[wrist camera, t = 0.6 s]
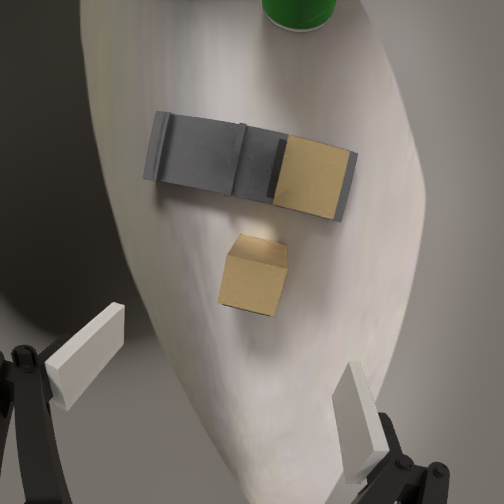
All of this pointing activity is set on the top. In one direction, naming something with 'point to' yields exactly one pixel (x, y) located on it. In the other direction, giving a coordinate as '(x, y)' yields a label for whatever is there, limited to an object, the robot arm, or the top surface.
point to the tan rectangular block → (254, 275)
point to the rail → (250, 164)
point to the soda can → (299, 13)
